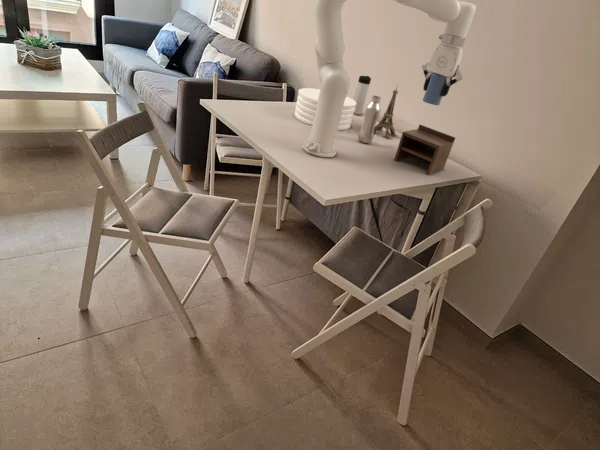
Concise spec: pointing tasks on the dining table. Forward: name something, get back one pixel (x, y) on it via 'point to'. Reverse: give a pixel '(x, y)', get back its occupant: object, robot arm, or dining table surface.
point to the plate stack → (309, 102)
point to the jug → (434, 89)
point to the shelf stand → (426, 147)
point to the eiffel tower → (388, 115)
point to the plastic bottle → (370, 120)
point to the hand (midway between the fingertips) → (434, 92)
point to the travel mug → (361, 94)
